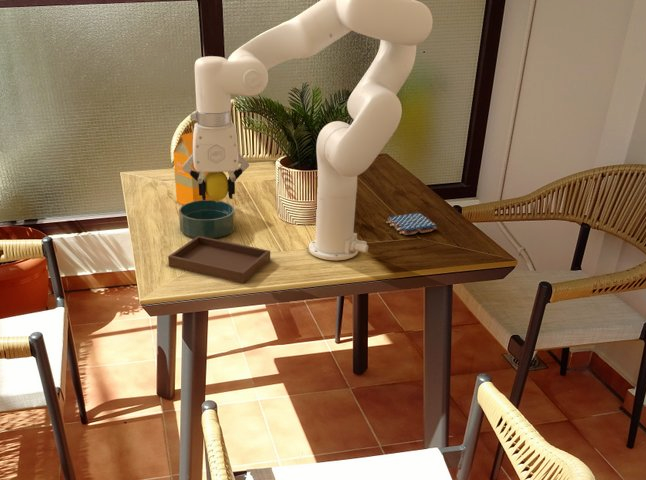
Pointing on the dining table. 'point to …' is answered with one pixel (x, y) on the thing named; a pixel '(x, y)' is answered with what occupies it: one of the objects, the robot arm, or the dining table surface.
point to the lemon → (216, 185)
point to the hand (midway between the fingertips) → (217, 196)
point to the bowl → (207, 219)
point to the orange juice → (185, 182)
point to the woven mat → (411, 223)
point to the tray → (219, 259)
